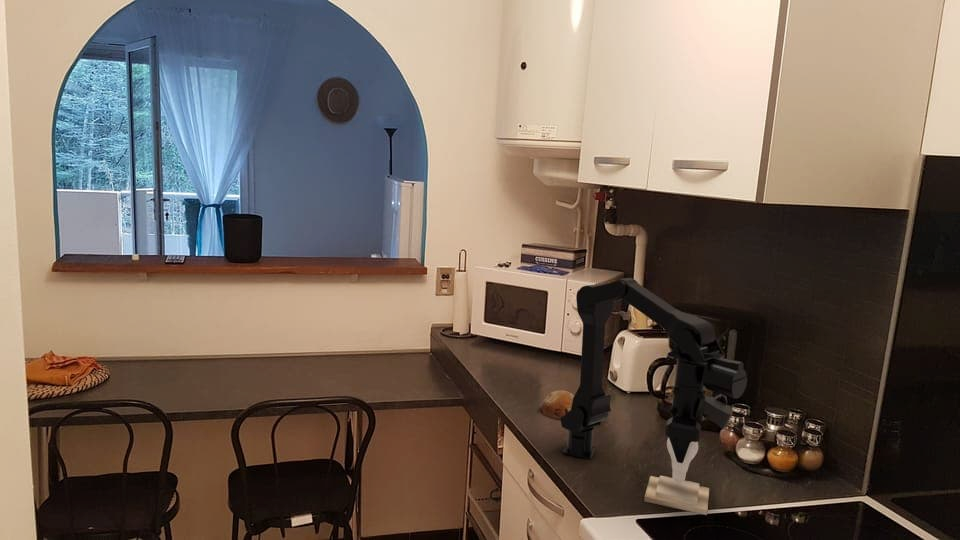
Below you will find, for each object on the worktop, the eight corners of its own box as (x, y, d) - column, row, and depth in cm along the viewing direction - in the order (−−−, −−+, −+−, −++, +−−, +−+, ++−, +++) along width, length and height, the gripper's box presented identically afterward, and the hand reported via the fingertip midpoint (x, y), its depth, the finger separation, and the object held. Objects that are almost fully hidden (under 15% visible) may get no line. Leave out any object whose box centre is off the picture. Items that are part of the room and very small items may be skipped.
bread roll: (571, 420, 185) (568, 391, 188) (588, 418, 176) (584, 387, 178) (538, 423, 182) (535, 393, 184) (553, 420, 173) (550, 389, 175)
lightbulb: (687, 475, 141) (693, 425, 139) (698, 489, 135) (704, 437, 133) (658, 474, 140) (664, 424, 139) (668, 488, 134) (674, 435, 133)
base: (650, 480, 145) (650, 471, 144) (708, 492, 141) (709, 483, 140) (644, 501, 135) (645, 491, 135) (706, 515, 131) (707, 505, 131)
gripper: (732, 405, 123) (722, 485, 125) (732, 376, 140) (723, 447, 143) (669, 394, 126) (660, 472, 129) (677, 367, 144) (669, 436, 146)
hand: (681, 456), depth 137 cm, fingers closed on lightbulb, 6 cm apart
